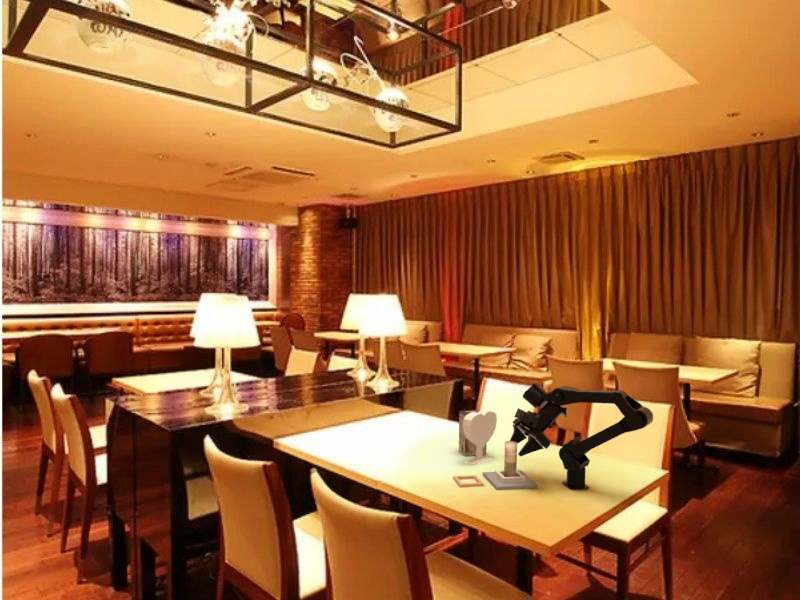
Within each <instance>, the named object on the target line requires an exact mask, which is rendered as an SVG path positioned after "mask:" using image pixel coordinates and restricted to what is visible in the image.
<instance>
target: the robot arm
mask: <svg viewBox="0 0 800 600" xmlns="http://www.w3.org/2000/svg"><path fill="white" fill-rule="evenodd" d="M522 399H524V400H525V401H526V402H527V403H528V404H530V405H531V406H532V407H533V408H534V409H537V408H539V409H540V410H539V411H538V412H537V411H534V412H533V411H531V410H527V411H525V410H523V409H521V408H518V407H517V409H516V412H515V414H514V418H515V419H514V420H513V421H512V423H513V424H512V428H513V433H512V435H511V437H510V440H509V441H514V442H517V445H518V444H519V443H521V442H522V441H524V440H526V439H527V441H526V443H525V444H524V445H523V447H522V448H521V449H520V451H519V452H517V456H519V457H523V456H526V455H528V454H531V453H534V452H537V451H540V450H544V449H546V450H547V449H548V448H549V447H550V446H551V440H550V439H549V438H548V436H547V435H545V434H544V433H545V431H546V430H548V429H549V430H551V429H552V428H553V426H552V424H553V423H554V422H555V421H556V420H557V419H558V418H559V417H560V416H561V415H562V416H563V417H564V418H567V417H568V414H567V412H568V408H567V407H562V406H567V405H571V404H572V405H573V404H578V403H581V404H582V403H586V404H587V403H588V404H589V403H590V404H609V405H610V404H613V405H615V407H617V409H618V410H619V412H620V413H621V415H622V416H623V417H622V418H621V419H620V420H619V421H618V422H616V423H614V424H612V425H610V426H608V427H606V428H605V429H602V430H600V431H598V432H597V433H595V434H592V435H590V436H589V437H587V438H584V439H581V438H580V436H579V435H578V436H577V437H575V438H573V439H571V440H568V441H567V442H565V443H562V445H561V446H562V447H561V448H559V451H558V456H559V459H560V460H561V463H562V465H563V469H565V470H566V480H563V481H562V484H563V485H564V486H566V487H567V488H568V489H570V490H572V491H573V490H574V491H575V490H589V489H590V487H589V486H588V484H586V472H587V471H586V468H587V467H588V466H589V464H590V463H591V462H590V461H591V460H590V459H589V457H588V456H587V453H589V452H590V451H591V450H593V449H595V448H598V447H599V446H601V445H603V444H605V443H607V442H609V441H611V440H613V439H615V438H617V437H619V436H622V435H623V434H626V433H630V432H635V431H638V430H643V429H644V428H646V427H647V426H649V425H650V424H651V423H652V422H653V421H654V414H653V411H652V410H650V408H648V407H647V406H646V407H645V406H643V404H641V402H639V401H638V400H636V399H634V398H633V397H631V396H630V395H629V394H628V393H627V392H626V391H624V390H622V389H618V390H604V389H603V390H601V389H600V390H599V389H596V390H595V389H592V390H591V389H579V388H577V387H574V386H568V385H562V386H559V387H556V388H554V389H553V390H552V391H548V392H547V391H546V390H544V389H543V388H542V387H541V386H540V385H539V384H538V383H537V382H534V383H532V385H531V386H530V387H529V388H528V389H526V390H525V391H524V392H523V395H522Z"/></svg>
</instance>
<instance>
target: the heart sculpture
mask: <svg viewBox="0 0 800 600" xmlns="http://www.w3.org/2000/svg"><path fill="white" fill-rule="evenodd" d="M479 410H480V411H479V412H478V413H476V412H471V413H469V414H468V415H466V416H465V418H464V420H463V431H464V434H465V436H466V438H467V439H468V440H469V441H470V442H472V443H473V444H475V445H476V455H475V457H474V458H472V459H468V461H467V460H465V461H466V462H468V463H470V464H476V463H479V464H482V463H484V462H483V461H486V462H488V461H487V460H489V459H492V460H494V459H493V458H494V457H493V458H491V457H492V456H490V455H484V456H483V447H484V446H485V445H486V446H487V443H488V442H489V441H490V440H491V438H492V437H493V435H494V433H495V430H496V428H497V420H498V418H497V413H496V412H494V411H490V410H485V409H479ZM489 456H490V457H489ZM489 461H490V460H489ZM481 462H482V463H481ZM470 464H469V465H470ZM476 465H477V464H476Z"/></svg>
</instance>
